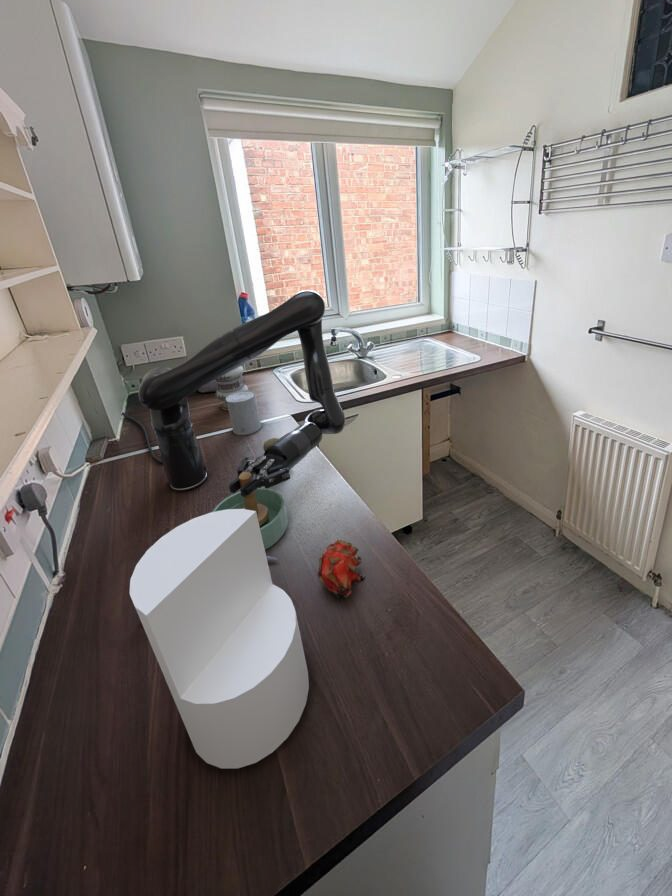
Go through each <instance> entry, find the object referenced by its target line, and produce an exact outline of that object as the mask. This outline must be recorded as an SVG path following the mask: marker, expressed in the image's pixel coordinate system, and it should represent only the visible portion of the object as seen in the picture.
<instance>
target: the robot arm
mask: <svg viewBox="0 0 672 896" xmlns="http://www.w3.org/2000/svg"><path fill="white" fill-rule="evenodd" d="M325 313H326V303H325V300H324V298H323V296H321V295H320V293H318V292H316V291H314V290H309V289H307V290H301V291H299V292H297V293H295V294H294V295H292V297H290V298H288V299H287V300H286V301H284V302H283V303H281V304H280V305H278V306H276V307H275V308H274V309H272V310H271V311H268V312H267V313H265V314H262V315H260V316H257V317H255V318H253V319H250V320H248V321H246V322H244V323H242V324H240V325H237V326H235V327H234V328H232V329H230V330H228V331H226V332H224V333H222V334H221V335H219V336H217V337H216V338H214V339H213V340H211V341H210V342H209V343H208V344H206V345H205V346H204V347H202V348H201V349H200V350H199V351H198V352H196V353H195V354H194V355H193V356H192V357H191V358H189V359H188V360H186V361H185V362H183V363H181V364H179V365H177V366H175V367H173V368H170V367H167V366H158V367H154V368H152V369H149V370H148V371H147V372H146V373H145V374H144V376H143V378H142V380H141V382H140V385H139V387H138V399H139V401H140V403H141V405H142V406H143V407H145V408H147V409H148V410H149V413H150V422H151V423H150V424H151V428H152V431H153V434H154V438H155V440H156V444H157V446H158V450H159V452H160V454H159V455H160V458H158V457H157V456H156V455H155V453H154V451H153V449H152V446H151V443H150V439H149V434H148V431H147V429H146V427H145V426H144V425H143V423H141V421H139V420H137V419H136V418H134V417H131V416H130V415H128V414H126V413H124V412H123V411H121V412H122V414H121V416H124V417H125V418H127V419H129V420H130V421H133V422H135V423H136V424H137V425H138V426H140V427H141V429H142V431H143V434H144V438H145V443H146V445H147V449H148V451H149V453H150V456H151V457H152V459H154V460H155V461H156V462H158V463H159V464H162V466H163V469H164V472H165V475H166V479H167V481H168V484H169V485H170V488H171V490H173V491H175V492H186V491H190V490H193V489H195V488H198V487H199V486H201V485H203V483H204V482H206V481H207V479H208V474H207V472H208V470H207V467H206V466H205V465H204V460H203V456H202V453H201V449H200V445H199V442H198V439H197V435H196V431H195V428H194V424H193V420H192V416H191V409H190V404H189V402H188V401H189V400H188V397H189V396H190V395H191V394H192V395H193V393H195V392H196V391H198V389H199V388H200V387H202V386H204V385H205V384H207V383H209V382H211V381H213V380H215V379H217V378H219V377H221V376H223V375H225V374H227V373H229V372H230V371H232V370H234V369H236V368H238V367H240V366H242V367H243V366H244V365H245V364H248V363H250V362H251V361H252V360H254V359H256V358H258V357H259V356H261V355H262V354H264V353H265V352H266V351H268V350H269V349H270V348H271V347H272V346H274V345H275V344H276V343H278V342H279V341H280V340H282V339H283V338H285V337H287V336H289V335H292V334H293V333H295V332H297V334H298V337H299V341H300V345H301V346H300V347H301V350H302V357H303V365H304V373H305V381H306V386H307V390H308V396H309V399H310V401H311V402H314V403H318V404H320V405H321V407H322V409H316V410H313V411H311V412H310V413H309V414H307V416H306V417H305V418H304V419H303V421H302V423H300V425H298V426H297V427H295V428H294V429H292V430H291V431H290V432H287V433H286V434H284V435H282V436H281V437H280V438H278V439H279V440H277V441H276V442H274V443H273V444H272V445H270V446H269V447H268V448H267V449H266V451H264V453H263V454H262V455H260V456H257V457H256V458H255V459H250V456H245V457H243V459H242V461H241V462H240V464H239V466H238V468H237V469H236V473H237V477H236V478H234V479H233V480H232V481H231V482H229V485H228V488H229V493H231V494H235V493H237V492H240V491H241V496H243V497H246V496H247V495H249V494H251V493H252V492H253V491H255V490H256V489H257V488H266V489H267V488H269V489H271V488H272V487H274V486H278V485H279V484H282V483H284V482H286V481H288V480H290V479H291V472H290V471H291V470H292V469H293V468H295V466H296V465H298V464H299V463H300V462H301V461H302V460H304V458H305V457H307V455H309V453H310V452H311V451H313V450H314V449H315V448H316V447H317V446H319V444H320V443H321V442H322V440H323V435H337V434H340V433H342V431H343V430H344V429H345V425H346V416H345V412H344V410H343V407H342V406H341V404H340V401H339V399H338V397H337V395H336V392H335V389H334V381H333V376H332V372H331V366H330V363H329V359H328V355H327V352H326V348H325V343H324V337H323V318H324V315H325ZM245 472H249V473H251V475H252V480H250V481H249V482H248V483H246V484H245V485H244V486H242V487H241V486H240V481H239V476H240V474H242V473H245ZM272 478H274V481H271V479H272Z"/></svg>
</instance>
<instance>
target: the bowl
mask: <svg viewBox="0 0 672 896" xmlns="http://www.w3.org/2000/svg"><path fill="white" fill-rule="evenodd" d="M255 496H256V501H257V504H262V505H265V506H266V507H267V509H268V517H269V523H268V524H266V525H265V526H263V527H262V528H260V531H261V535H262V540H263V544H264V549H265V551H266V550H268V549H269V548H271V547H273V546H274V545H275V544H276V543H277V542H278V541H280V540H281V538H282V537H283V536H284V534H285V532H286V530H287V528H288V525H289V517H288V512H287V508H286V503H285V498H284V496H283V494H281V493H280V492H278V491H277V490H276V489H272V488H267V489H266V488H265V487H261V488H257V489H256V490H255ZM244 507H245V505H244V500H243V496H241V491H240V490H239V491H236V492H235V493H232V494H231V495H229V496H227V497H226V498H224V499H223V500H222V501H220V502H219V503H218V504H217V505H216V506H215V507H214V508H213V510H212V511H211V512H216V511H221V510H226V509H243V508H244Z"/></svg>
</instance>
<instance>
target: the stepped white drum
mask: <svg viewBox="0 0 672 896" xmlns="http://www.w3.org/2000/svg"><path fill="white" fill-rule="evenodd" d="M266 553H267V552H266V550H265V549H264V544H263V540H262V535H261V531H260V527H259V522H258V518H257V513H256V511H252V510H246V509H226V510H221V511H216V512H212V511H211V512H208V513H205V514H202V515H200V516H197V517H193V518H191V519H189V520H187V521H186V522H183V523H181V524H179V525H178V526H176V527H174V528H173V529H171V530H169V532H167V533H165V534H164V535H163V536H161V537H160V538H159V539H158V540H157V541H155V542H154V543H153V545H151V546H150V547H149V548H148V549H147V550H146V551H145V553H144V554H143V555H142V556H141V558H140V559H139V560H138V562H137V563H136V565H135V567H134V570H133V571H132V575H131V577H130V579H129V597H130V599H131V600H132V603H133V606H134V608H135V611H136V613H137V615H138V617H139V620H140V622H141V625H142V627H143V630H144V632H145V634H146V637H147V639H148V642H149V644H150V647H151V648H152V651H153V653H154V656H155V658H156V660H157V663H158V665H159V668H160V670H161V672H162V675H163V677H164V680H165V682H166V684H167V687H168V689H169V692H170V695H171V696H172V699H173V701H174V704H175V706H176V708H177V710H178V713H179V715H180V718H181V720H182V722H183V724H184V727H185V729H186V732H187V734H188V737H189V739H190V741H191V744H192V747H193V749H194V750H195V753H196V754H197V755H198V756H199V757H200V758H201V759H202V760H203V761H204V762H205V763H206V764H208V765H210V766H214V767H216V768H218V769H240V768H244V767H247V766H250V765H253V764H256V763H258V762H259V761H261V760H263V759H264V758H266V757H267V756H269V755H271V754H272V753H274V751H276V750H277V749H278V748H279V747H280V746H281V745H282V744H283V743H284V741H286V740H287V739H288V738H289V737H290V735H291V734H292V733H293V731H294V729H295V727H296V726H297V724H298V723H299V722H300V719H301V718H302V715H303V712H304V710H305V707H306V706H307V701H308V694H309V690H310V682H309V680H310V679H309V670H308V666H307V665H308V664H307V661H306V656H305V651H304V646H303V641H302V635H301V631H300V627H299V621H298V617H297V611H296V608H295V605H294V603H293V600H292V598H291V597H290V596H289V595H288V594H287V592H285V590H284V589H282V588H281V587H279V586H277V585H275V584H274V583H273V580H272V575H271V570H270V567H269V563H268V561H267V558H266V556H267V554H266Z"/></svg>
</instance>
